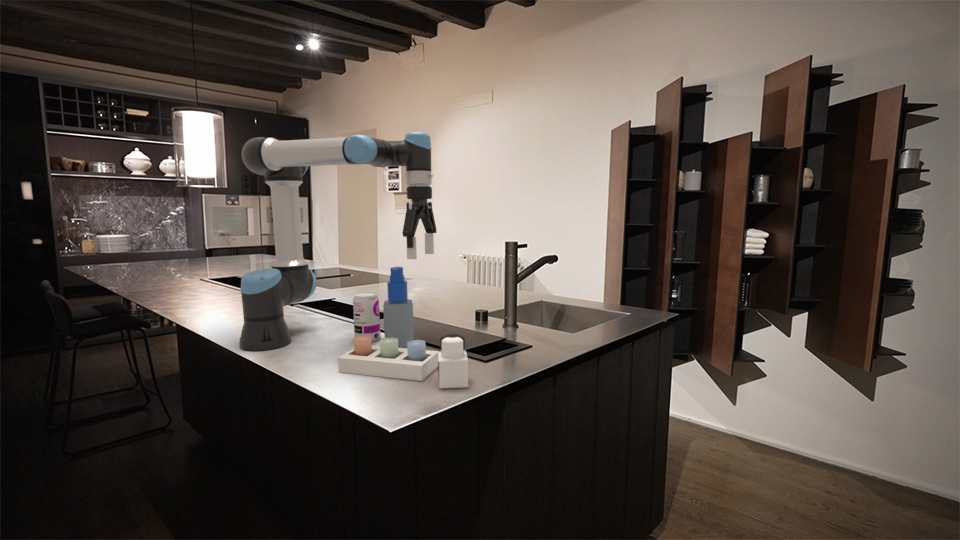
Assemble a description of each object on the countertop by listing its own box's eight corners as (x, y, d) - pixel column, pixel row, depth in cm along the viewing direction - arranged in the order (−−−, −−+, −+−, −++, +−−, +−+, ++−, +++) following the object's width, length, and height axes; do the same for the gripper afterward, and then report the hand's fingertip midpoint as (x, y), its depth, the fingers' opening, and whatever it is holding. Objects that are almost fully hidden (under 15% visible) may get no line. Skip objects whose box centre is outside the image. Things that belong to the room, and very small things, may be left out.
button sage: (377, 360, 128) (376, 341, 128) (385, 354, 133) (385, 336, 132) (393, 361, 127) (392, 343, 126) (401, 355, 131) (401, 338, 131)
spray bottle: (394, 342, 155) (391, 264, 151) (419, 344, 152) (416, 265, 148) (379, 350, 146) (376, 268, 143) (405, 353, 143) (403, 270, 140)
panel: (338, 372, 128) (337, 357, 128) (362, 357, 139) (361, 344, 139) (421, 381, 121) (421, 365, 121) (439, 365, 133) (439, 351, 132)
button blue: (404, 362, 126) (404, 344, 125) (412, 357, 131) (411, 339, 130) (421, 364, 125) (421, 345, 124) (428, 358, 129) (428, 340, 128)
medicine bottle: (438, 378, 123) (437, 332, 121) (466, 377, 124) (466, 331, 122) (438, 389, 116) (437, 340, 114) (468, 387, 117) (467, 340, 115)
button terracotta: (350, 357, 131) (349, 339, 130) (360, 352, 135) (359, 334, 134) (366, 359, 129) (365, 341, 128) (375, 353, 134) (374, 336, 133)
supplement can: (383, 336, 162) (381, 292, 159) (375, 343, 153) (373, 297, 151) (359, 335, 162) (357, 292, 160) (351, 342, 154) (348, 297, 152)
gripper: (413, 184, 132) (415, 261, 135) (445, 186, 155) (446, 252, 158) (388, 185, 134) (391, 261, 137) (423, 187, 157) (425, 251, 160)
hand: (421, 256), depth 148 cm, fingers open, 13 cm apart
